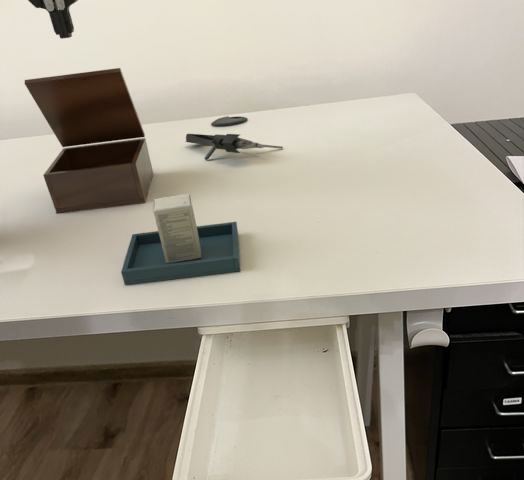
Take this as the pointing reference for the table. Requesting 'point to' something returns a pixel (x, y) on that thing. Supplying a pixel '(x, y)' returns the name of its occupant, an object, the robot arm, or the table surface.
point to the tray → (212, 261)
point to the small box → (177, 228)
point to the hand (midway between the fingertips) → (66, 37)
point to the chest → (100, 176)
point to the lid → (87, 107)
